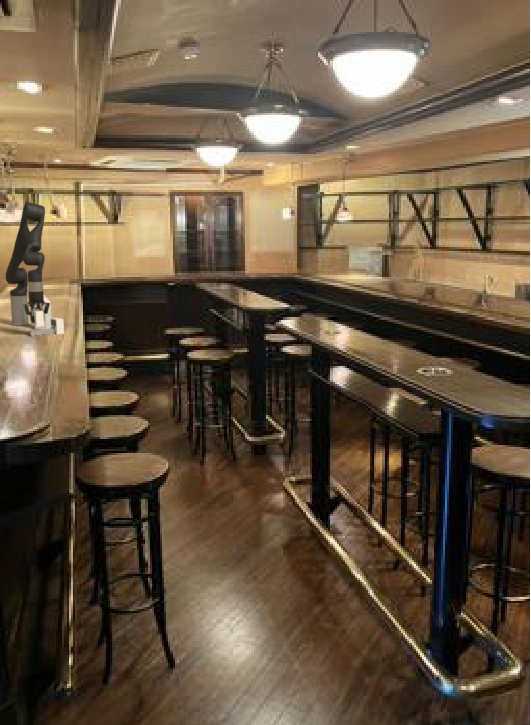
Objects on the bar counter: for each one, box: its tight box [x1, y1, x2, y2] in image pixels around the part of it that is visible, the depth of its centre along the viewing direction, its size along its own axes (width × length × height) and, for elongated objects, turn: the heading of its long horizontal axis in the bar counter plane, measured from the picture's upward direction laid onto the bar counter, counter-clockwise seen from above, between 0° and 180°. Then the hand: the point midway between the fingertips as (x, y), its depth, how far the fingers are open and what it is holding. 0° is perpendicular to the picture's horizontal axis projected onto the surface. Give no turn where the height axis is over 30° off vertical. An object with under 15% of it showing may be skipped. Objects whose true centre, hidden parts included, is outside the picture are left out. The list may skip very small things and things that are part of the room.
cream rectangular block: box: [30, 310, 44, 328], centre depth 330 cm, size 7×4×8 cm, turn 44°
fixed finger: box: [51, 317, 65, 335], centre depth 339 cm, size 7×4×8 cm, turn 44°
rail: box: [29, 328, 56, 337], centre depth 335 cm, size 2×17×3 cm, turn 134°
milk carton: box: [34, 294, 53, 330], centre depth 353 cm, size 7×7×19 cm
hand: (37, 322), depth 331 cm, fingers closed on cream rectangular block, 4 cm apart
